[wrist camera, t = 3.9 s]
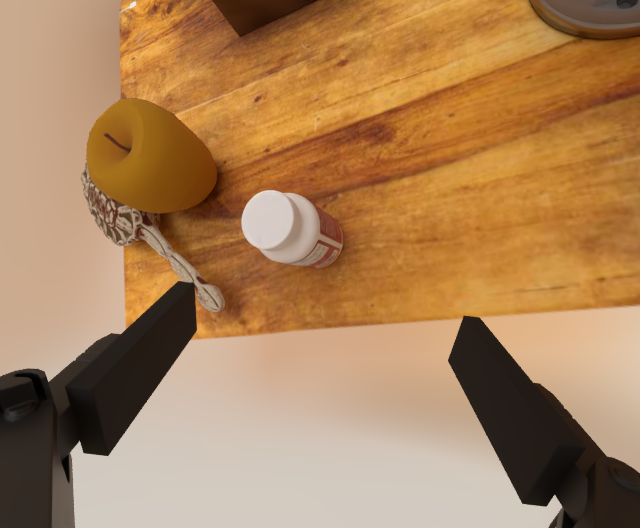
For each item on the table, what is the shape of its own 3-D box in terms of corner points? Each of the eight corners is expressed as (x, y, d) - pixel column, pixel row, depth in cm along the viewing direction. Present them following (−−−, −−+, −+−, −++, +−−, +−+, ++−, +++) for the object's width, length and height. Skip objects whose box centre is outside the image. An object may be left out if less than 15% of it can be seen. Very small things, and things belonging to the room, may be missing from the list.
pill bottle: (300, 210, 35) (243, 175, 24) (350, 219, 32) (311, 184, 22) (287, 263, 34) (224, 249, 24) (337, 275, 32) (291, 266, 22)
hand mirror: (248, 263, 32) (109, 135, 42) (198, 287, 28) (57, 139, 38) (238, 322, 39) (121, 200, 49) (197, 348, 35) (78, 209, 45)
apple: (212, 238, 38) (111, 212, 26) (159, 206, 42) (50, 171, 30) (248, 159, 38) (161, 96, 26) (191, 134, 41) (92, 69, 29)
